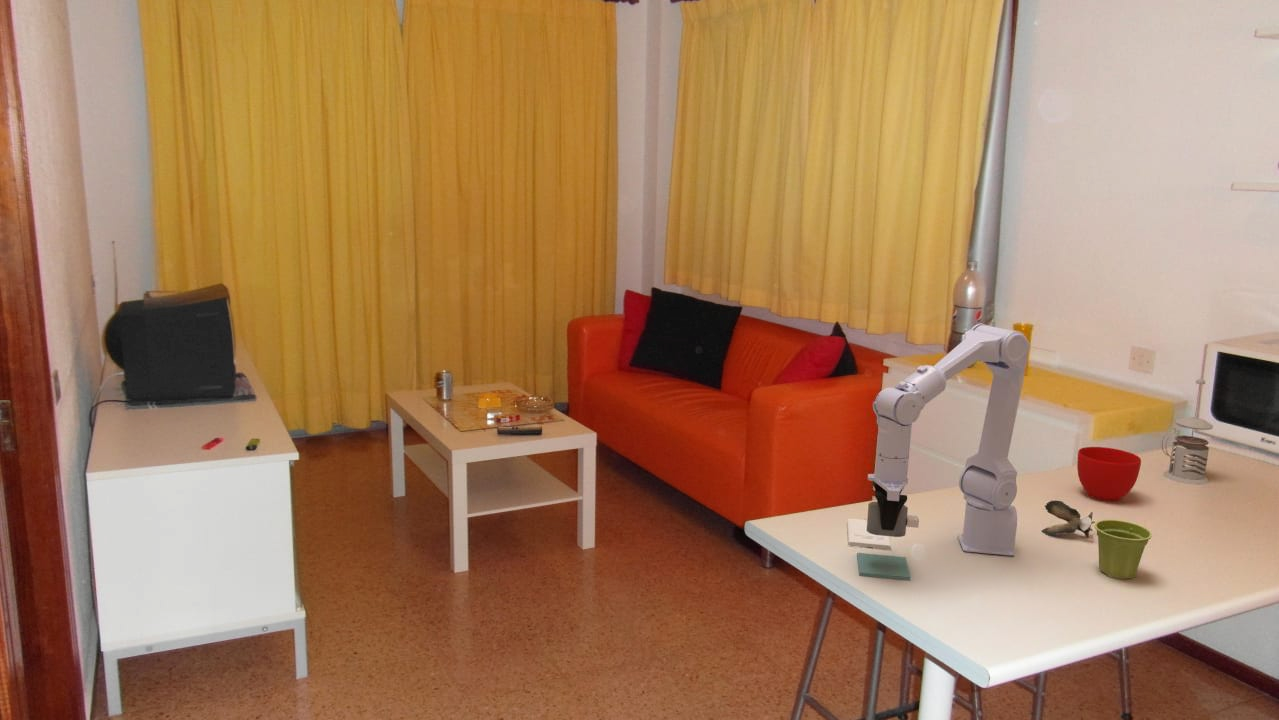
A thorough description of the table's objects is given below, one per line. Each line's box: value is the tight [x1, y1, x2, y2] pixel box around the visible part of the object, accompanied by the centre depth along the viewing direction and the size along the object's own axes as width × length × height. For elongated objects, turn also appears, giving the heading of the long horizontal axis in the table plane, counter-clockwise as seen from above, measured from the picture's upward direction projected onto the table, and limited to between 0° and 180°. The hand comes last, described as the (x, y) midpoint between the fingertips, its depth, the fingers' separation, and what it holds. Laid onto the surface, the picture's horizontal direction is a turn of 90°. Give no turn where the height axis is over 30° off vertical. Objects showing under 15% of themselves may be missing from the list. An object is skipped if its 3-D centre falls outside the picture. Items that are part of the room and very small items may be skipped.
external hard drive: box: [846, 518, 892, 551], centre depth 186 cm, size 2×8×12 cm
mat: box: [856, 552, 911, 581], centre depth 171 cm, size 9×9×1 cm
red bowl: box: [1076, 446, 1142, 502], centre depth 213 cm, size 13×17×10 cm
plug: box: [866, 501, 920, 538], centre depth 169 cm, size 9×4×5 cm, turn 80°
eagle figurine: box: [1041, 500, 1096, 539], centre depth 189 cm, size 8×7×9 cm
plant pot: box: [1094, 519, 1153, 580], centre depth 171 cm, size 9×9×9 cm
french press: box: [1160, 378, 1214, 485], centre depth 225 cm, size 10×12×25 cm
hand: (886, 524), depth 170 cm, fingers closed on plug, 4 cm apart
